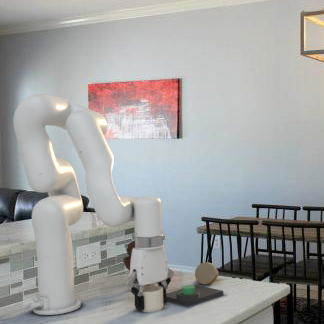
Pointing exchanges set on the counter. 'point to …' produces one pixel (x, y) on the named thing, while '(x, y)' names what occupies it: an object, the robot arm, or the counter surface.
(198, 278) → the mug
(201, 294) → the scale
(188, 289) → the button
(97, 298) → the counter surface
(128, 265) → the ice cream bowl
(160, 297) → the cream cup
